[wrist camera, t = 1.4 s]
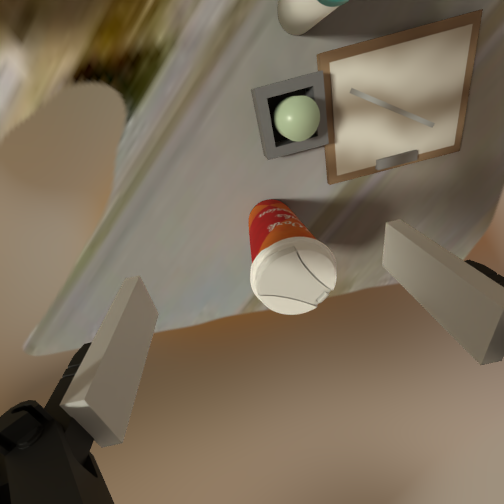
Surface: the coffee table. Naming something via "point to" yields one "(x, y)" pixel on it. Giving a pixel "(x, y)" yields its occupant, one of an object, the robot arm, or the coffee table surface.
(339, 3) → the marker
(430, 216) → the coffee table surface
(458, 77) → the drawing board
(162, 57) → the coffee table surface
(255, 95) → the button housing
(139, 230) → the coffee table surface
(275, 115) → the button
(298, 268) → the coffee cup
